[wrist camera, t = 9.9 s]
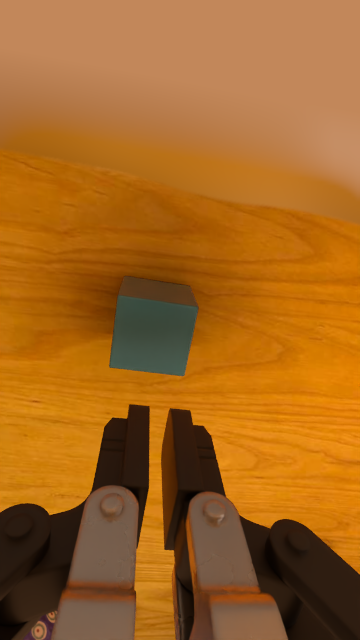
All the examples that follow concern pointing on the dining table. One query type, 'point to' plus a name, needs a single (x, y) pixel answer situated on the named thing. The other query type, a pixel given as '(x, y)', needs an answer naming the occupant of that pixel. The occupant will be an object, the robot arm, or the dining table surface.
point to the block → (153, 326)
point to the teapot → (42, 628)
